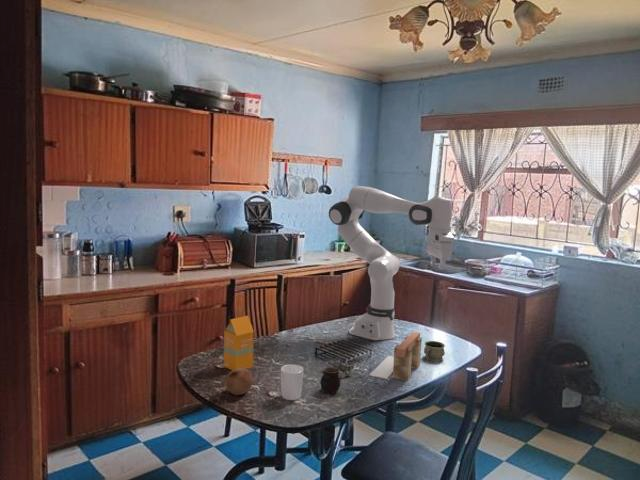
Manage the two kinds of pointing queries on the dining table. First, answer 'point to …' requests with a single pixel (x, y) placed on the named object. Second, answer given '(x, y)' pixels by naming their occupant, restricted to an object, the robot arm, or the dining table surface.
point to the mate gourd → (330, 380)
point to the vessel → (434, 350)
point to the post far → (416, 353)
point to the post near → (402, 365)
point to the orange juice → (238, 343)
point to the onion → (239, 381)
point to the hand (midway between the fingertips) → (437, 267)
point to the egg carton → (344, 367)
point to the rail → (407, 344)
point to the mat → (384, 369)
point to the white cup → (291, 381)
